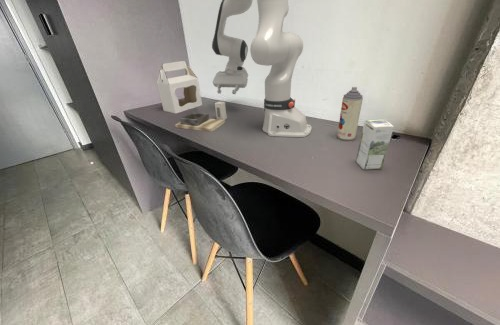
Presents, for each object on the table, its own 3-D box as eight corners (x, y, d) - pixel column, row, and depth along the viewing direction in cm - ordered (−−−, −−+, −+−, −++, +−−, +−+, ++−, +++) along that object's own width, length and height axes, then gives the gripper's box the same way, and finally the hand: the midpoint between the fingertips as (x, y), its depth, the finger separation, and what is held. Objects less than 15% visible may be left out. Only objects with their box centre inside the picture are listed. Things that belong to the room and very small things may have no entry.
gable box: (190, 102, 157) (182, 60, 144) (202, 105, 150) (195, 60, 136) (163, 111, 143) (151, 64, 129) (175, 113, 135) (163, 64, 121)
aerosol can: (335, 134, 93) (342, 85, 84) (351, 134, 93) (361, 85, 83) (339, 141, 87) (347, 89, 78) (357, 140, 87) (367, 88, 77)
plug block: (226, 118, 122) (224, 101, 117) (222, 120, 118) (220, 104, 114) (220, 117, 123) (218, 101, 119) (216, 120, 120) (214, 103, 115)
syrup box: (372, 160, 73) (382, 118, 66) (382, 169, 68) (394, 125, 61) (355, 161, 73) (363, 119, 66) (363, 170, 68) (374, 126, 61)
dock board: (225, 122, 115) (224, 114, 113) (211, 131, 105) (210, 122, 103) (191, 119, 123) (189, 111, 121) (175, 127, 113) (173, 118, 111)
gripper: (214, 67, 125) (207, 89, 122) (247, 67, 117) (240, 90, 114) (219, 75, 130) (213, 95, 128) (250, 75, 122) (244, 97, 120)
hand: (226, 93), depth 121 cm, fingers open, 8 cm apart
